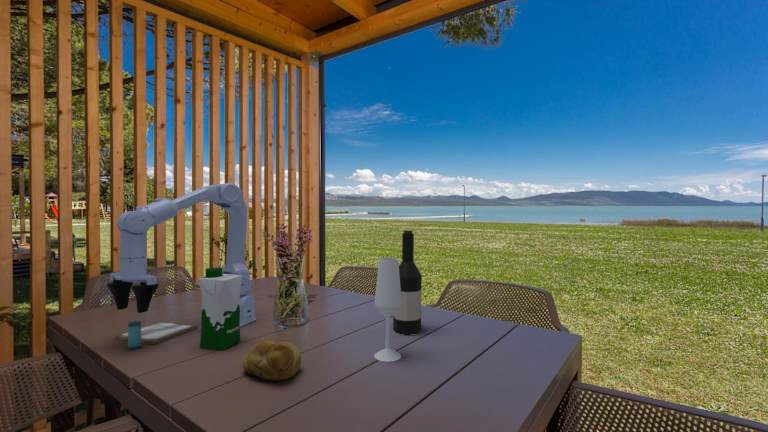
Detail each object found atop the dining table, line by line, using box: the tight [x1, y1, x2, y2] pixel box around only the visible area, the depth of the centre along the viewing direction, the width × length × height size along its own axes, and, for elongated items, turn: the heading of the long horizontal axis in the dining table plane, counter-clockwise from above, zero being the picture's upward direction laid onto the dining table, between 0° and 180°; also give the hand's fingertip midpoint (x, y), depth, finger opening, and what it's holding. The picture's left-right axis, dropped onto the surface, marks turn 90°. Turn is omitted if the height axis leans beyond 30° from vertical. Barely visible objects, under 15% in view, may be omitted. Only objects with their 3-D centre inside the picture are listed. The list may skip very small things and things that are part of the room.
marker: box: [127, 320, 142, 350], centre depth 92 cm, size 3×3×6 cm
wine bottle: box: [392, 230, 423, 336], centre depth 107 cm, size 8×8×30 cm
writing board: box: [114, 320, 198, 346], centre depth 103 cm, size 14×14×1 cm
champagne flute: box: [373, 257, 402, 363], centre depth 88 cm, size 7×7×24 cm
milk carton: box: [198, 267, 242, 351], centre depth 95 cm, size 9×9×20 cm
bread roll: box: [242, 340, 302, 382], centre depth 78 cm, size 13×10×8 cm
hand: (132, 310), depth 92 cm, fingers open, 7 cm apart
